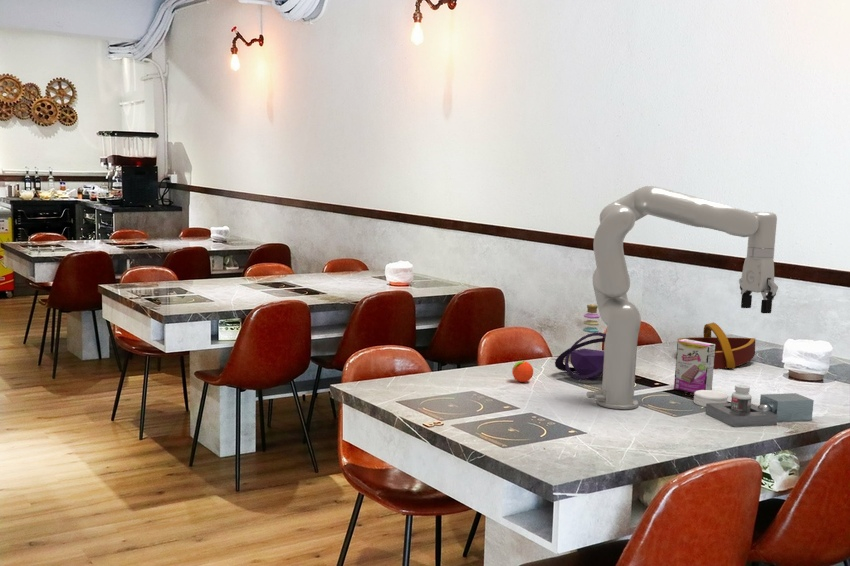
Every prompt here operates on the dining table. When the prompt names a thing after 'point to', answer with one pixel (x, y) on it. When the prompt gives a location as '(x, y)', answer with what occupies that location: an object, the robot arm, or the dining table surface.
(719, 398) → the white round disc
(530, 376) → the clementine
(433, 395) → the dining table surface
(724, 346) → the decorative basket
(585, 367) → the decorative bottle
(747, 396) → the pill bottle
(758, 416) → the grey tray with housing
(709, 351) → the candy bar box
